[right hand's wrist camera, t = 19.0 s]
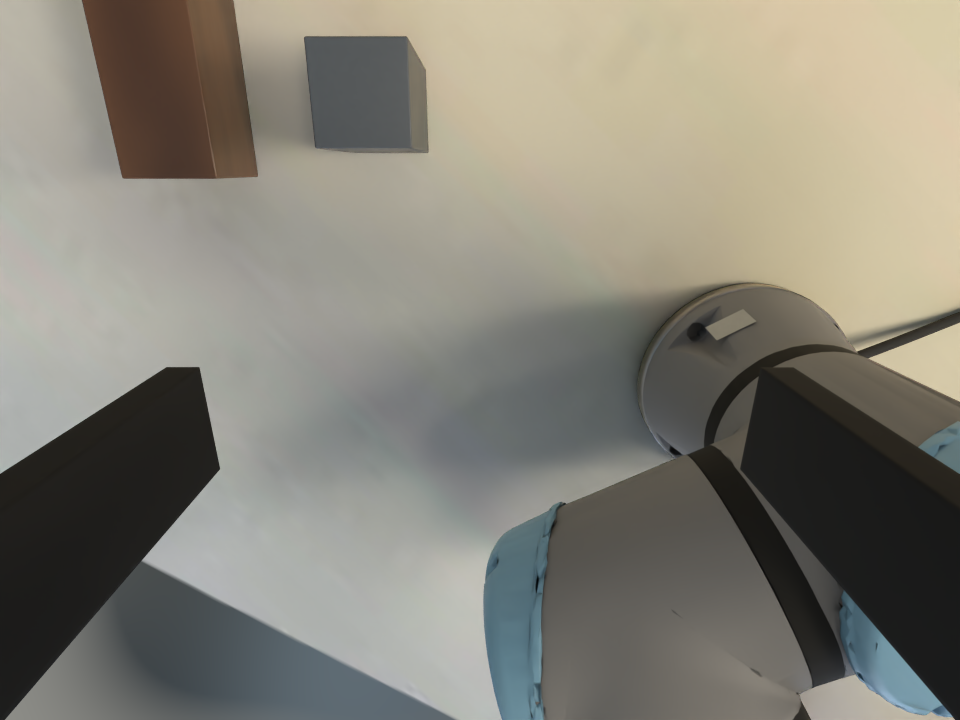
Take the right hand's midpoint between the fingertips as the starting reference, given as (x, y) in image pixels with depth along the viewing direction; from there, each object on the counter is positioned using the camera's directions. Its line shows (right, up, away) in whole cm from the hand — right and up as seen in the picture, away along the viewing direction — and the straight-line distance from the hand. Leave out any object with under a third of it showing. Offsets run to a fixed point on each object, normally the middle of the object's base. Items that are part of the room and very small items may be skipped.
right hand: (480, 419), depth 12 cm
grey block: (-6, +18, +22) cm, 29 cm away
